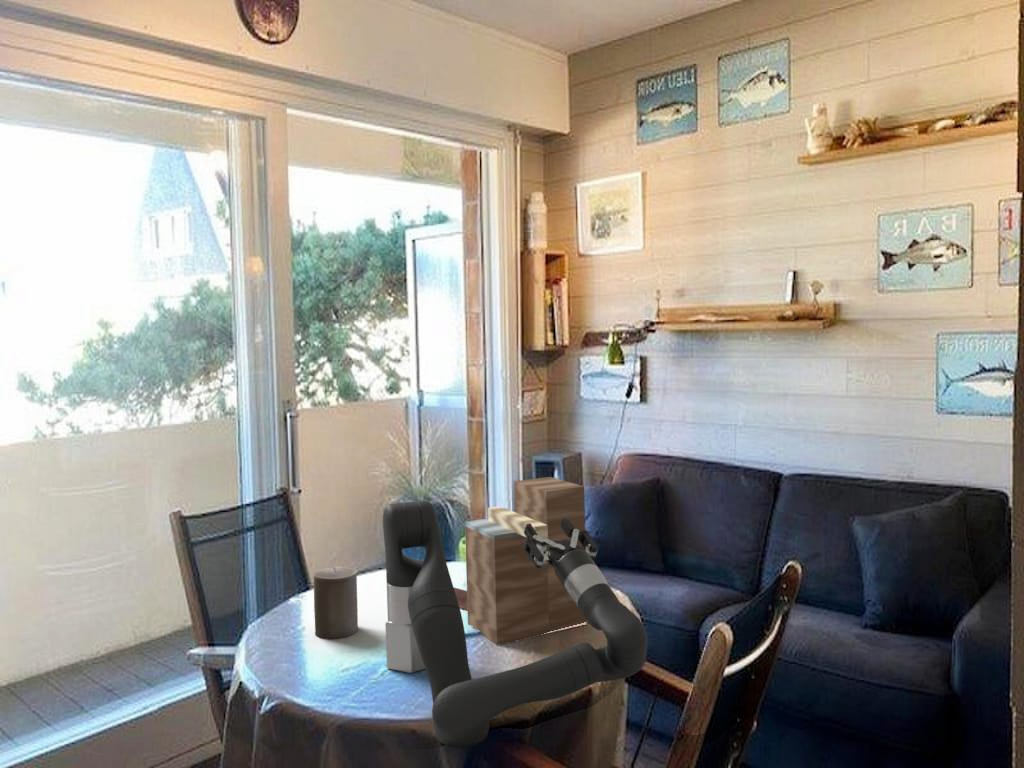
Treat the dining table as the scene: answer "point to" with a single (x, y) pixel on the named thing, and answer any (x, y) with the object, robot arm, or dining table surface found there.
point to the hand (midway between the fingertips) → (545, 523)
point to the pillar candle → (335, 602)
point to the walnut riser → (522, 566)
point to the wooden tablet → (461, 598)
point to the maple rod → (515, 521)
